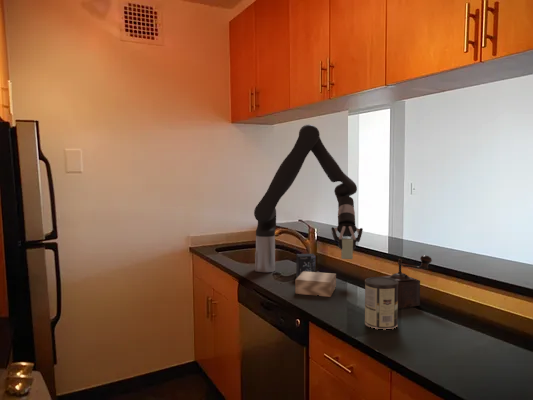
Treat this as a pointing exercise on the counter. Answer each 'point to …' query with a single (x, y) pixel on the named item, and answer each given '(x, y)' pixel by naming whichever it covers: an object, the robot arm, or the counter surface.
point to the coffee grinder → (409, 284)
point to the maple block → (315, 283)
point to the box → (305, 263)
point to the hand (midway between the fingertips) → (347, 248)
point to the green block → (347, 248)
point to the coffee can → (381, 303)
